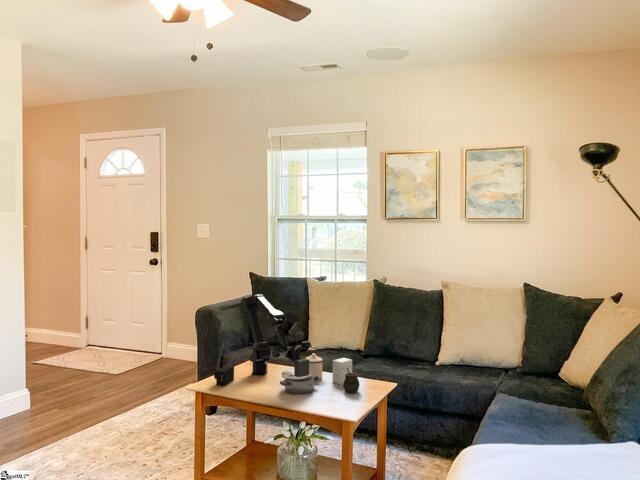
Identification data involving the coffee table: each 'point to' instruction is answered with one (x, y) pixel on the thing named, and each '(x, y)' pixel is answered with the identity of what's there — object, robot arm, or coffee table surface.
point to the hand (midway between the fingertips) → (299, 365)
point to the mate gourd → (351, 382)
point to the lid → (298, 370)
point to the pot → (299, 385)
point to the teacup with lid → (315, 365)
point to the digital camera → (224, 375)
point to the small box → (341, 369)
